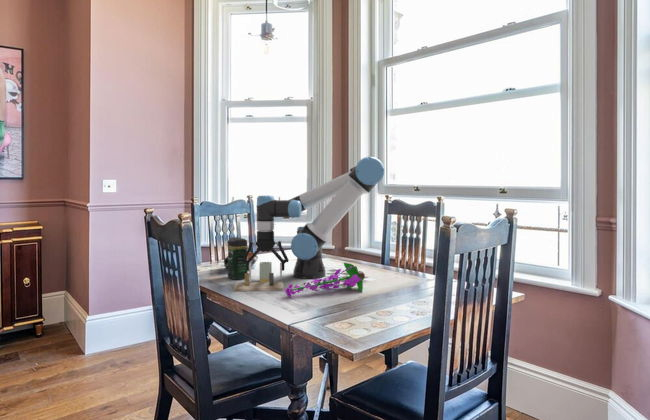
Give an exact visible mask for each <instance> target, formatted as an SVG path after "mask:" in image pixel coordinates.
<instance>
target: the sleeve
mask: <svg viewBox="0 0 650 420" xmlns="http://www.w3.org/2000/svg"><path fill="white" fill-rule="evenodd" d="M269 273H273V272H272V261H260V262H259V282H269Z"/></svg>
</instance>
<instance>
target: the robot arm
mask: <svg viewBox="0 0 650 420" xmlns="http://www.w3.org/2000/svg"><path fill="white" fill-rule="evenodd" d="M384 176H385V167H384V164H383V162H382V161H381V160H380V159H378V158H377V157H375V156H365V157H363V158H361V159H359V161H358V162H357V164H356V166H355V165H354V167H352V168H349V169H348V172H346V173H344V174H342V175H339V176H338V177H335V178H333V179H331V180H329V181H327V182H324V183H323V184H321V185H318V186H316V187H313V188H312V189H310V190H307V191H306V192H302V193H300V194H299V195H297V196H294V197H292V198H290V199H283V200H282V199H280V200H279V199H278V200H277V199H275V196H273V195H258V196H257V198H256V230H257V231H256V241H252V240H251V241H250V242H249V246H248V247H247V249H248V250H247V252H246V254H245V256H244V258H243V260H242V262H243V263H246V270H247V271H248V273H249V280H251V279H252V268H251V263H250V262H251V260H252V259H253V258H254V257H255V256H257V254H258V253H259V252H261V253H262V252H266V253H267V252H271V253H272V254H273V255H274V256H275V257H276V258H277V259H278V261H280V263H279V279H283V271H285V264H286V263H289V258H288V256H287V254H286V251H285V250H284V248H283V246H282V241H281V240H278V241H275V231H274V230H275V218H292V219H294V218H300V217H301V216H302V212H304V211H306V210H309V209H311V208H313V207H315V206H317V205H320V204H322V203H324V202H327V201H328V200H330V199H331V200H330V201H329V202H328V204H326V206H324V208H323V209H322V211H321V212H320V213H318V215H316V217H315V219H313V221H312V222H307V223H306V224H305V225H303V226H297V231H296V235H294V236H293V237H292V240H291V243H290V249H291V252H292V254H293V255H294V256H295V258H296V261H295V265H294V267H293V270H292V271H293V274H292V275H293V276H294V277H295V278H299V279H321V278H323V277H324V278H325V277H326V268H325V265H324V262H323V258H322V257H323V246H324V245H325V244H326V242H328V235H329V234H330V232H332V231H333V229H334V228H335V227H336V226H337V224H339V223H340V221H341V220H342V219H343V218H344V217H345V215H346V214H347V213H348V212H349V211H350V210H351V209H352V208H353V206H355V204H356V203H357V202H358V200H359V199H360V198H362V196H363V195H365V194H369V193H370V192H371V191H372V190H373V189H374V188H375V187H376V185H377V184H378V183H379V182H381V181H382V179H384ZM255 246H256V247H257V248H256V250H255V251H254V252H252V253H253V255H252V256H251V257H250V258H249V259H248V260H246V259H247V257H248V255H249V253H250V252H251V250H252V248H253V247H255ZM275 246H276V247H278V249H279V250H280V252H281V255H282V257H281V255H280V254H279V253H278V252H277V250H276V249H275Z"/></svg>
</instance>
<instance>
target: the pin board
mask: <svg viewBox="0 0 650 420" xmlns="http://www.w3.org/2000/svg"><path fill="white" fill-rule="evenodd" d="M232 291H233V292H256V291H257V292H258V291H260V292H262V291H263V292H264V291H265V292H266V291H267V292H268V291H270V292H271V291H284V281H275V279H274V272H272V273H269V282H260V281H258V282H255V281H254V282H250V279H249V272H248V273H245V278H244V282H235V285H234V286H233V289H232Z"/></svg>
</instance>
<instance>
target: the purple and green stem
mask: <svg viewBox="0 0 650 420" xmlns="http://www.w3.org/2000/svg"><path fill="white" fill-rule="evenodd" d="M343 264H344V268H345V269H344V270H342V268H339V269H337V270H336V271H334V274H331V275H330V276H329V277H324V278H313V280H312V281H310V282H304V283H303V284H301V286H300V285H298V284H297V285H296V284H295V286H294V287H293V285H294V284H293V283H294V282H293V283H292V282H291V283H289V285H288V287H286V288H285V290H284V293H286V295H287V296H288V297H289V298H292V295H293V296H294V295H295V294H297V293H300V292H304V291H305V290H306V292H308V291H309V290H311V291H315V292H320V290H321V289H325V290H327V291H329V290H330V288H332V289H335V290H336V289H338V288H340V284H341V282H342V281H343V283H342V285H344V286H346V288H349V289H352V288H354V287H355V286H357V290H358V291H360V292H361V293H363V289H364V281H363V280H364V279H365V278H366V275H365V272H363V271H361V270H358V267H357V266H356V265H354V264H352V263H348V262H343ZM345 272H346V273H347V274H348V276H344V277H339V276H340V275H341V274H343V273H345ZM302 285H303V286H302ZM317 288H319V289H317Z"/></svg>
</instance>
